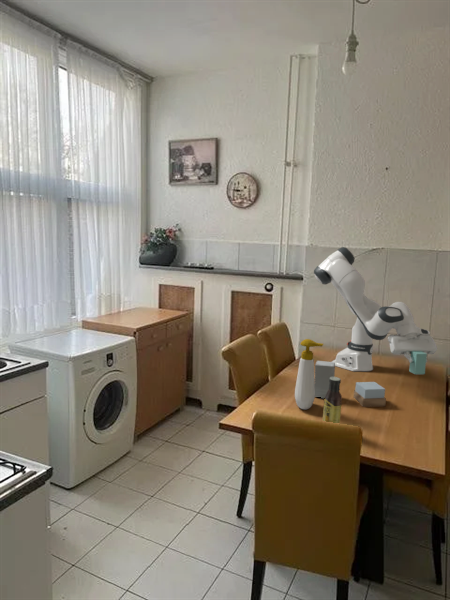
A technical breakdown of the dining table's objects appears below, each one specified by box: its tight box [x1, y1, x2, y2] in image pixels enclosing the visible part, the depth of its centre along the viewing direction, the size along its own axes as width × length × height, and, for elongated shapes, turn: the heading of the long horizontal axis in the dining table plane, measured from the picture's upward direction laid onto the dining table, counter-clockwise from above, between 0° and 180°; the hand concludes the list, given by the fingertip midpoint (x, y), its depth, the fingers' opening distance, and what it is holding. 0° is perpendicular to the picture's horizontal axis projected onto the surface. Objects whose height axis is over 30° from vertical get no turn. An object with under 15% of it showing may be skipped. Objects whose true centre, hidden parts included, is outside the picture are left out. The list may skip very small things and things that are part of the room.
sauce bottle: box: [322, 376, 342, 423], centre depth 161 cm, size 6×6×20 cm
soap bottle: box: [294, 338, 324, 410], centre depth 181 cm, size 13×10×29 cm
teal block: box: [408, 351, 428, 375], centre depth 188 cm, size 4×4×9 cm
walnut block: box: [353, 390, 387, 408], centre depth 191 cm, size 10×10×4 cm
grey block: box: [355, 381, 386, 398], centre depth 190 cm, size 9×9×4 cm
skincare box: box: [314, 360, 336, 399], centre depth 195 cm, size 8×7×16 cm
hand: (418, 362), depth 187 cm, fingers closed on teal block, 4 cm apart
